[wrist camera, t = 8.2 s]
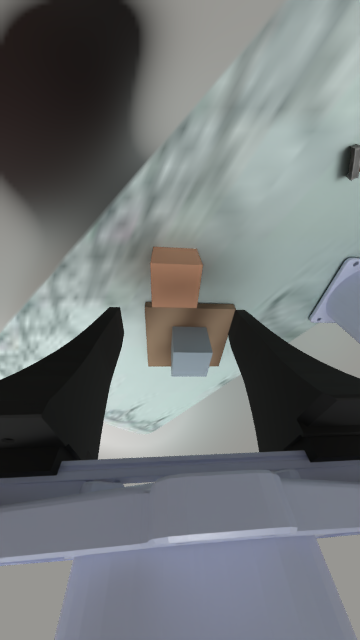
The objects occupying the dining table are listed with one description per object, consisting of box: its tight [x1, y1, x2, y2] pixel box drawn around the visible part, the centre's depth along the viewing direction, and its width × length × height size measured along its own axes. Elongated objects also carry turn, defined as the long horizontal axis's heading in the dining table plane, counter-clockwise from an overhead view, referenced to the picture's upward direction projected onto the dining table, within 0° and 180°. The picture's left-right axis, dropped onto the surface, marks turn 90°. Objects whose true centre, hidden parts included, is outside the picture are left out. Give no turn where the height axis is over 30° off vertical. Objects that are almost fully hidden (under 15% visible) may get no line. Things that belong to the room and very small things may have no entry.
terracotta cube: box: [150, 247, 203, 308], centre depth 17 cm, size 4×4×4 cm
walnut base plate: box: [145, 302, 236, 366], centre depth 24 cm, size 10×10×1 cm
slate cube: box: [171, 327, 213, 376], centre depth 22 cm, size 4×4×4 cm
